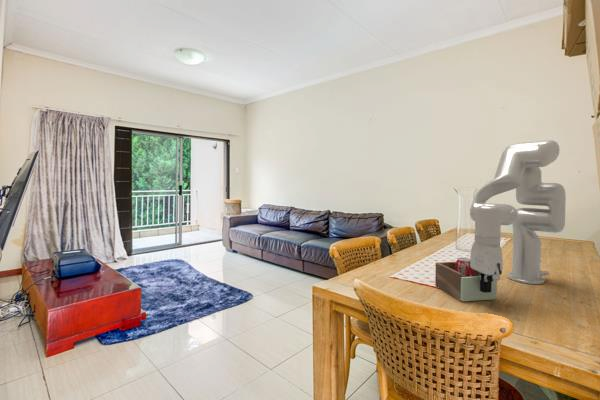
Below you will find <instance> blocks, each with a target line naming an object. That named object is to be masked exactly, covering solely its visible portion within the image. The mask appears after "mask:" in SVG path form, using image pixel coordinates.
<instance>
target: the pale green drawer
mask: <svg viewBox="0 0 600 400" xmlns="http://www.w3.org/2000/svg"><path fill="white" fill-rule="evenodd" d="M497 283H498V280H493V282H492V287H491V292H488V293H483V292H481V291H480V279H479V276H471V277H461V291H460V300H461V301H460V302H472V301H473V302H475V301H476V302H477V301H489V300H497V295H498V294H497V289H498V288H497V287H498V284H497Z"/></svg>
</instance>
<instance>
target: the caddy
mask: <svg viewBox="0 0 600 400" xmlns="http://www.w3.org/2000/svg"><path fill="white" fill-rule="evenodd" d="M455 269H456V261H444V262H435V277H434V278H435V279H434V280H435V282H434V284H435V285H436V286H437V287H436V286H435V287H436V288H438V287H439V288H440V289H439V288H438V289H439V290H441V291H442V292H444V293H446V294H448V295H449V296H451V297H452V298H454V299H456V300H457V301H459V302H462V301H461V300H460V291H461V277H463V274H461V273H459V272H457V271H455ZM474 276H478V274H477V273H476V272H475V271H474Z"/></svg>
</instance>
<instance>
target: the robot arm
mask: <svg viewBox="0 0 600 400" xmlns="http://www.w3.org/2000/svg"><path fill="white" fill-rule="evenodd" d="M559 156H560V146H559V144H558V142H557V141H555V140H553V139H552V140H549V139H548V140H540V141H538V140H537V141H529V142H527V141H526V142H518V143H513V144H509V145H508V146H506V148H505V149H504V150H503V151H502V153H501V156H500V159H499V162H498V164H497V167H496V170H495V171H496V172H495V175H494V177H493V179H492V180H490V181H488V182H487V183H485V184H484V185H483V186H482V187H481V188H480V189H479V190H477V191H476V193H475V195H474V197H473V200H472V202H471V206H470V210H469V216H470V219H471V220H472V221H473V222H474V241H473V242H472V245H471V250H470V257H469V259H470V267H471V268H472V269H473V270H474V271H475V272H476V273H477V274H478V276H479V279H480V291H481V292H483V293H488V292H491V287H492V282H493V280H497V281H500V280H501V275H502V274H503V268H504V267H503V265H504V263H503V260H504V259H503V250H502V247H501V230H502V229H501V226H510V225H511V226H512V232H513V233H512V239H513V240H512V263H511V264H512V266H511V267H512V268H511V270H512V271H511V272H509V273H507V278H509V280H513V281H515V282H519V283H522V284H529V285H543V284H544V283H545V278H543V276H549V275H550V271H548V270H542V269H541V255H542V253H541V251H542V241H541V238H540V237H539V235H538V234H537V233H536V232H543V233H554V234H555V233H556V234H557V233H561V232H563V230H564V229H565V226H566V201H567V199H566V190H565V187H564V186H563V185H562V184H560V183H559V182H558V183H557V182H542V170H541V168H544V167H547V166H549V165H551V164H552V163H553V162H555V161H557V159H558V157H559ZM513 190H515V199H516V202H517V203H518V204H520V205H523V206H538V207H539V206H541V207H542V206H543V207H547V208H536V207H519V208H515V207H514V206H513V205H511V204H505V203H490V202H489V203H488V202H487V201H488V200H490V199H491V198H492V197H494V196H497V195H501V194H503V193H506V192H508V191H513Z"/></svg>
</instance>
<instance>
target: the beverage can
mask: <svg viewBox="0 0 600 400" xmlns="http://www.w3.org/2000/svg"><path fill="white" fill-rule="evenodd" d="M455 262H456V269H455V271H457V272H459V273H461V274H463V277H471V276H474V270H473V269H472V268H471V267H470V258H467V257H458V258H457V260H456V261H455Z"/></svg>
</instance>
